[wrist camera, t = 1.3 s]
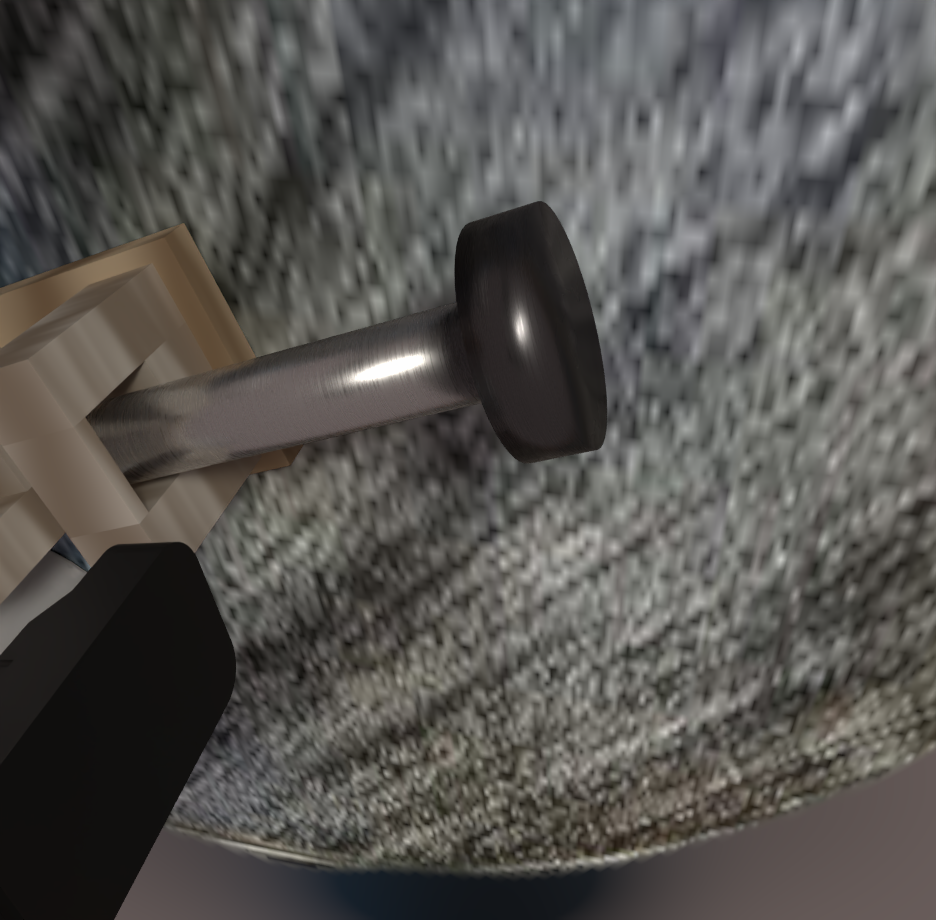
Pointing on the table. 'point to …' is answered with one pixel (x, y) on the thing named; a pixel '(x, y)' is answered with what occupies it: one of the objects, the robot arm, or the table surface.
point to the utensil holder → (37, 594)
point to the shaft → (400, 368)
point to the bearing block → (99, 378)
